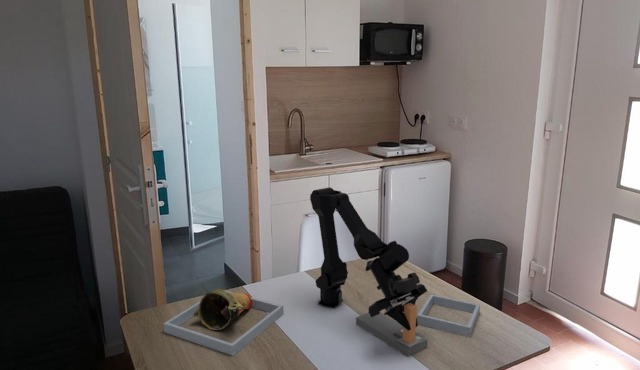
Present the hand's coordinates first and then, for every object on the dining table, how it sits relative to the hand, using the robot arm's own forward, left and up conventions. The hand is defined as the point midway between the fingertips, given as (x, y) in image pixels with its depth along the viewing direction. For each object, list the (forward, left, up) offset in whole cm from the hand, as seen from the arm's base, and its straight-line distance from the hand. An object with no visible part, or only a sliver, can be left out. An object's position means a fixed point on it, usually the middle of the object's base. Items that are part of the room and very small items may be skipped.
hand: (413, 328), depth 129 cm
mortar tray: (-56, -11, -8) cm, 58 cm away
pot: (-57, -11, -8) cm, 58 cm away
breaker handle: (-1, +1, -5) cm, 5 cm away
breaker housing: (-9, +6, -8) cm, 13 cm away
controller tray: (+5, +24, -8) cm, 25 cm away
